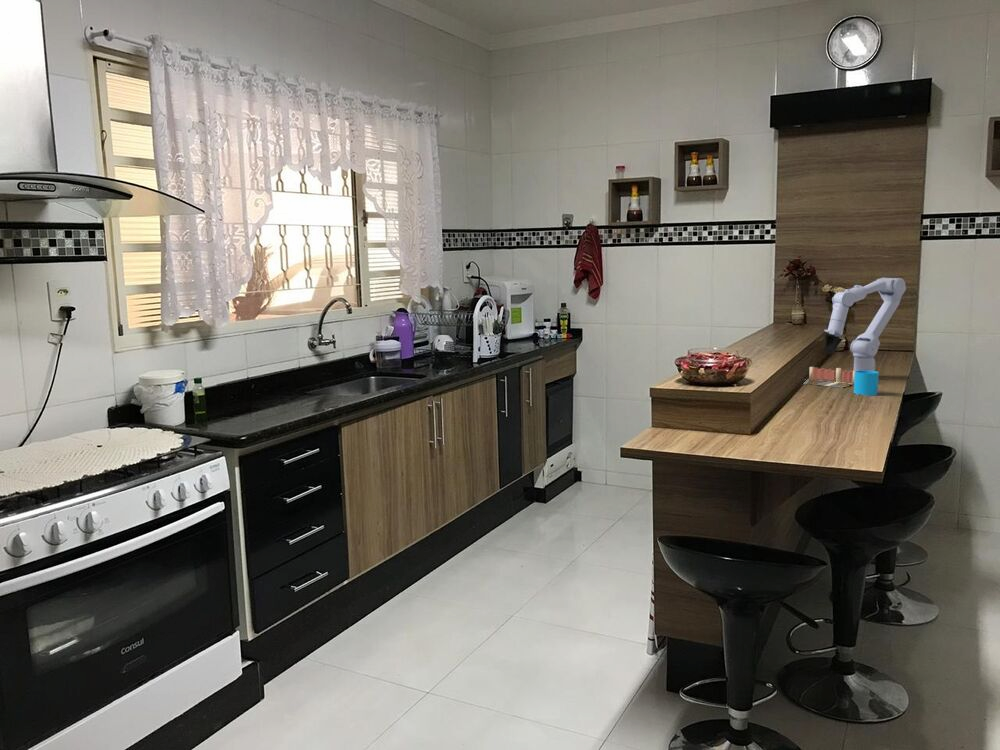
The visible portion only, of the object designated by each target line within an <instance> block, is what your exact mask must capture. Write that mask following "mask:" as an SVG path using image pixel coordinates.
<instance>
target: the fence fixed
mask: <svg viewBox="0 0 1000 750" xmlns="http://www.w3.org/2000/svg"><path fill="white" fill-rule="evenodd" d="M835 378H836V382H841V378H842V381H844V382H845V383H847V382H849V383H852V384H854V378H855V371H853V370H848V369H847V370H846V369H845V370H842V367H836V368H835Z"/></svg>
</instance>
